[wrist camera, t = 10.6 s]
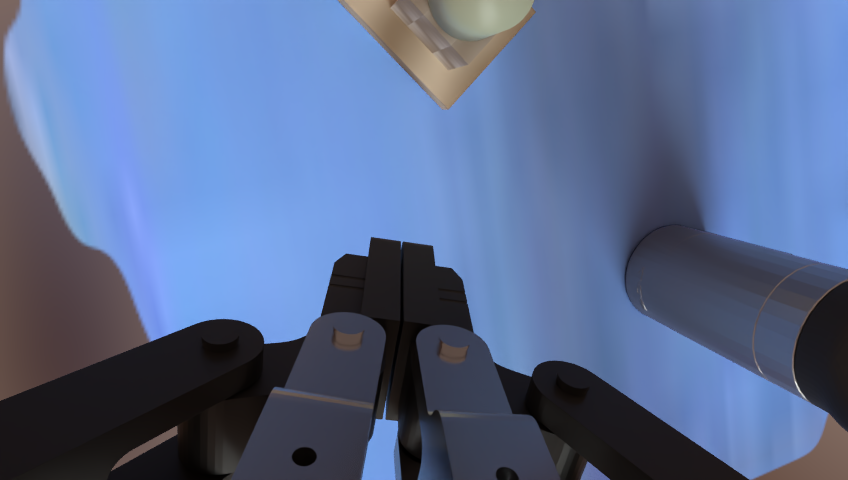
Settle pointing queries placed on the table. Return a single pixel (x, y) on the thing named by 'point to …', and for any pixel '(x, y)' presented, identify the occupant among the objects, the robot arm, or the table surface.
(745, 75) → the table surface
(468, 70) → the button board
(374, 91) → the table surface
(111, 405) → the robot arm
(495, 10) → the pale green rounded knob
